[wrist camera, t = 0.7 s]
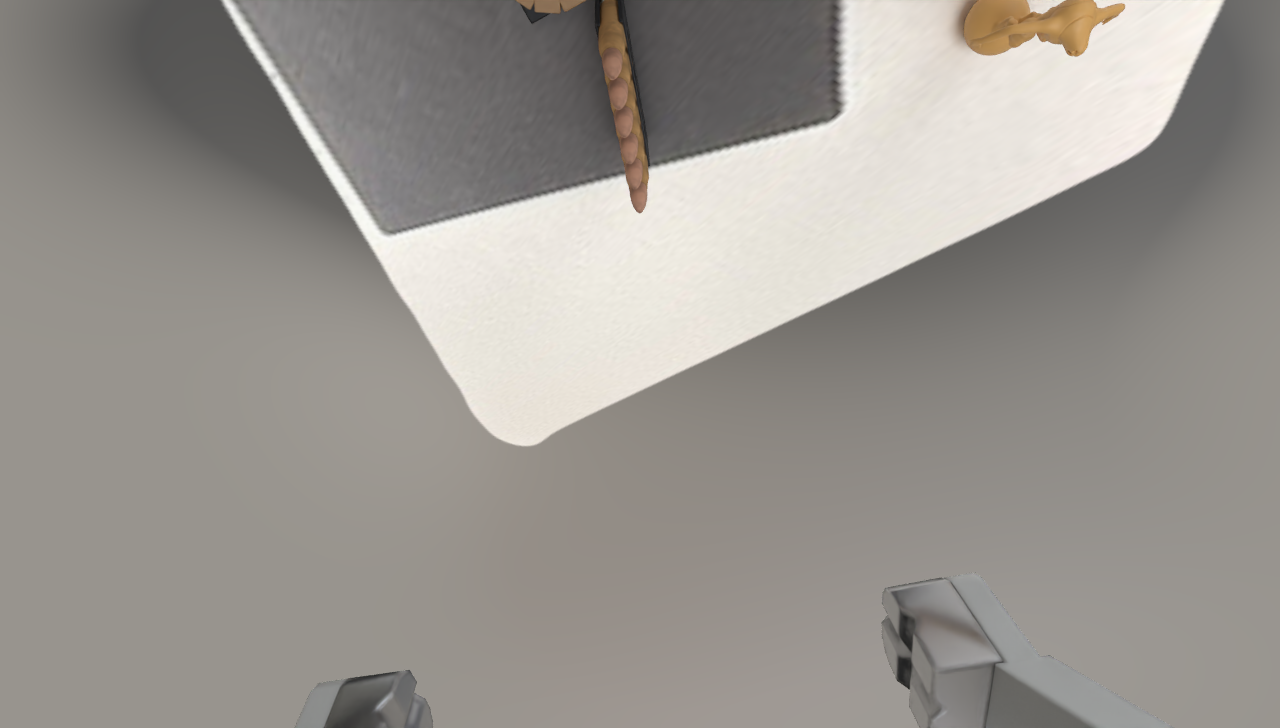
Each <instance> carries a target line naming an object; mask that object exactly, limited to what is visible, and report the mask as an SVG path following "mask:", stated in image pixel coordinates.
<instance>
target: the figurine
mask: <svg viewBox="0 0 1280 728" xmlns="http://www.w3.org/2000/svg"><path fill="white" fill-rule="evenodd" d="M1124 9H1125V5H1124V4H1122V3H1121V4H1115V5H1111V6H1108V7H1105V8H1097V5H1096V3H1095V2H1094V0H1066V1H1064V2H1062V3H1060V4H1059V5H1058V6H1056V7H1052V8H1051V9H1049V10H1048V11H1047V12H1046V13H1044V14H1037V13H1036V12H1032V13H1030V7H1029V4H1028V2H1027V1H1026V0H978V1H977V2H976V3H975V4H974V5H973V7H972V8H971V9H970V11H969V13H968V15H967V17H966V20H965V23H964V37H965V40H966V43H967V44H968V46H969V47H970V48H971V49H972V50H973V51H975V52H976V53H979V54H982V55H997V54H1000V53H1003V52H1005V51H1007V50H1009V49H1011V48H1015V47H1018V46H1020V45H1021V44H1022V43H1024V42H1026V41H1029V40H1030V39H1032V38H1033V37H1034V36H1035V34H1036V33H1037V36H1038V37H1039V39H1040V41H1042V42H1046V41H1049V42H1050V43H1053V44H1062V45H1063V46H1064V48H1065V51H1066V53H1067V54H1068V55H1070V56H1079V55H1081V54H1082V53H1083V52H1084V51H1085V50H1086V48H1087V46H1088V41H1089V36H1090V32H1091V30H1092V29H1093V28H1094V27H1095V26H1096V25H1097V24H1099V23H1100V22H1102V23H1103V22H1104V23H1103V24H1105V23H1107V22H1108V21H1110V20H1111V19H1113V18H1115V17H1117V16H1118V15H1119V14H1120V13H1121V12H1122V11H1123V10H1124ZM1104 19H1105V20H1104ZM1103 20H1104V21H1103ZM1103 24H1102V25H1103Z"/></svg>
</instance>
